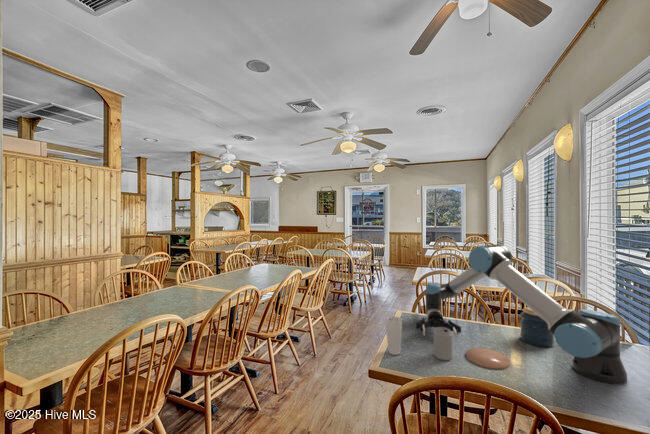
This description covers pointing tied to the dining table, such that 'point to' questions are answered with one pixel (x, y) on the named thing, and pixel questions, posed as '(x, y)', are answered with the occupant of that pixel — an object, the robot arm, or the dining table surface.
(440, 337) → the can
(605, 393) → the dining table surface
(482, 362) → the terracotta plate
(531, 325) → the canister
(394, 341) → the drinking glass
